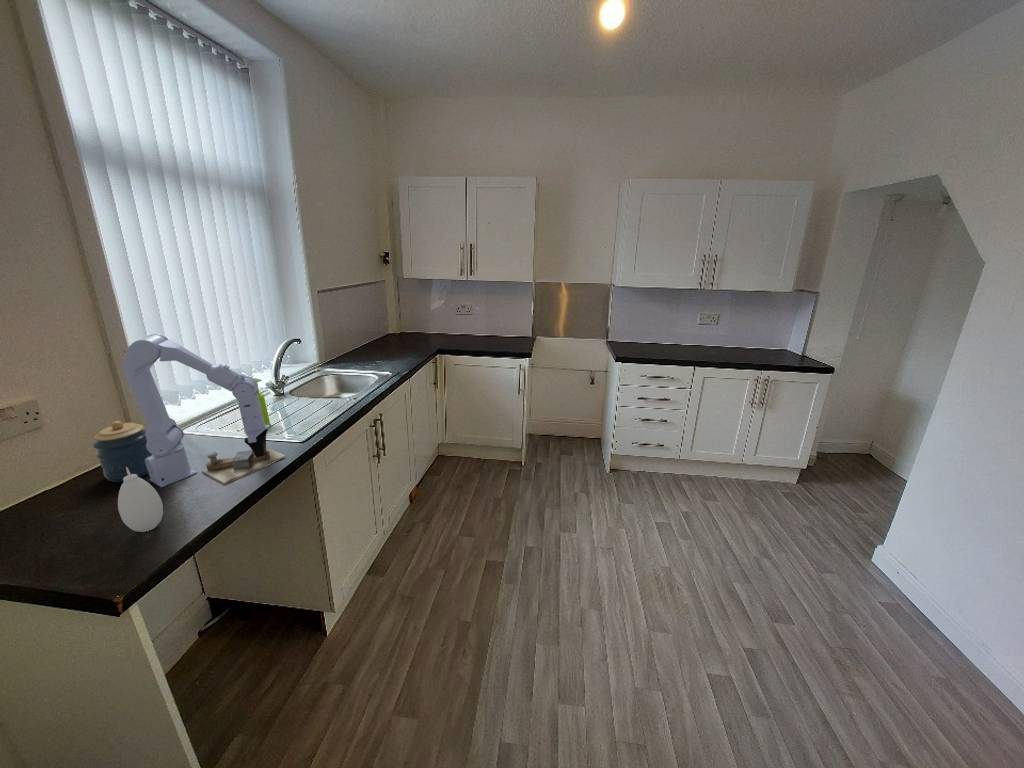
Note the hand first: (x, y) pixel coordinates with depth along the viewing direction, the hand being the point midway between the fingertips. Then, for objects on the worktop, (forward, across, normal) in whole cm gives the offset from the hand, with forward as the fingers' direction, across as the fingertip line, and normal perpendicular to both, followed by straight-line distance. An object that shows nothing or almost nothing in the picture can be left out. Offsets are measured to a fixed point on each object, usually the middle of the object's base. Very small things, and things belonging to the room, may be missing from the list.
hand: (261, 453), depth 133 cm
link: (+2, 0, +7) cm, 7 cm away
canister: (+3, +10, +37) cm, 39 cm away
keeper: (+3, -1, +5) cm, 6 cm away
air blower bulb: (+3, -27, +22) cm, 35 cm away
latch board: (+3, 0, +5) cm, 6 cm away
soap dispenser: (+3, +32, +4) cm, 33 cm away
